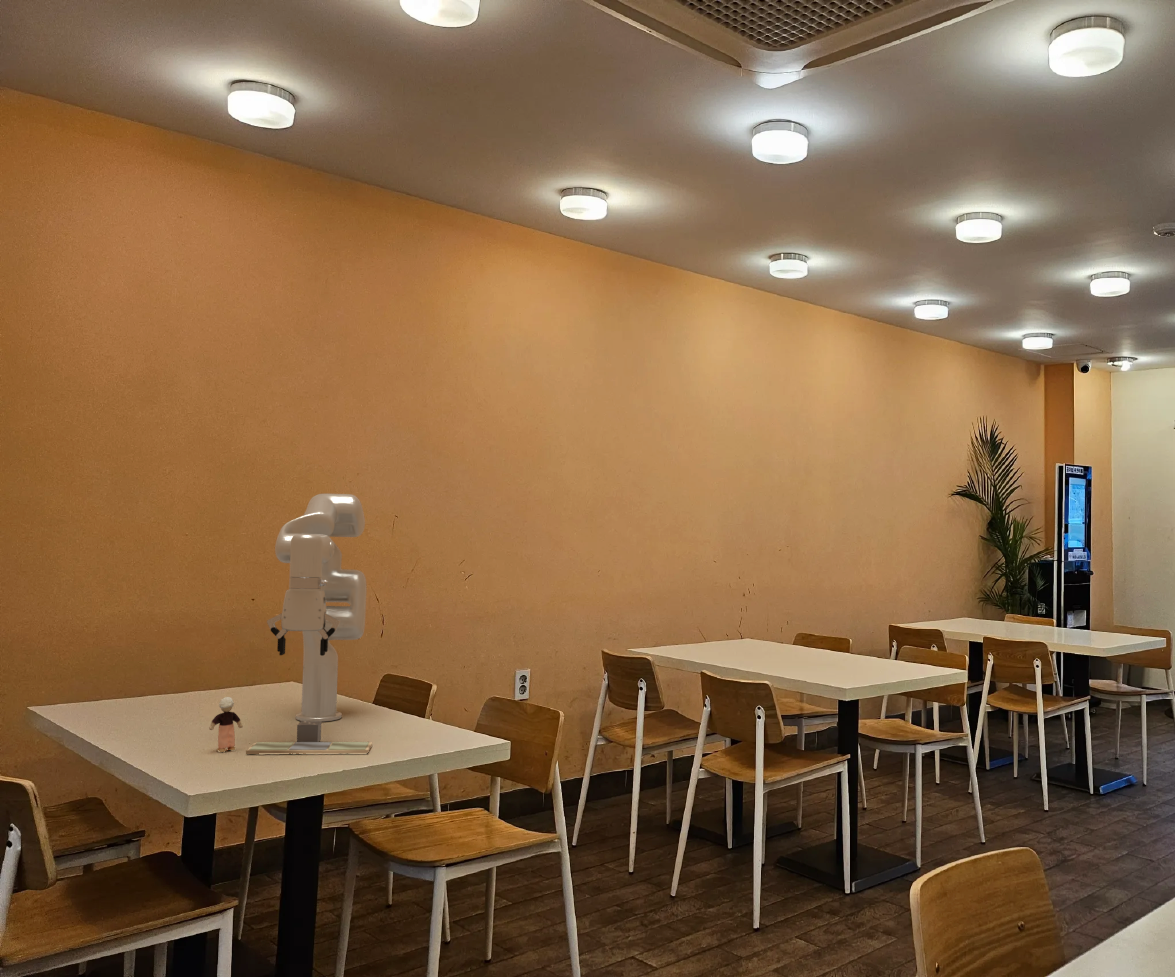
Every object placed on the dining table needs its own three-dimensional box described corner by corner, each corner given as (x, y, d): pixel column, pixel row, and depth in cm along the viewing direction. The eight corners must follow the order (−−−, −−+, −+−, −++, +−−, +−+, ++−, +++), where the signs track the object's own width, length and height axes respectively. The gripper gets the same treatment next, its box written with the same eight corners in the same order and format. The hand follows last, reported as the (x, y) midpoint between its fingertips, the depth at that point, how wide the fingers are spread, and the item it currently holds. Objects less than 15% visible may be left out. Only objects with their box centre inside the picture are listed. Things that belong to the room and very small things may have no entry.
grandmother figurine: (234, 747, 231) (236, 694, 232) (243, 749, 229) (245, 696, 230) (204, 752, 225) (207, 697, 226) (213, 754, 223) (215, 699, 224)
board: (254, 746, 232) (255, 741, 232) (372, 746, 235) (372, 741, 235) (245, 755, 223) (246, 749, 223) (367, 754, 226) (367, 749, 226)
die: (300, 741, 240) (301, 720, 241) (320, 741, 241) (321, 720, 241) (296, 745, 235) (297, 724, 236) (317, 745, 236) (318, 724, 236)
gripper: (343, 584, 239) (340, 653, 238) (272, 583, 237) (269, 653, 236) (338, 585, 232) (336, 656, 231) (265, 584, 230) (262, 656, 229)
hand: (302, 654), depth 233 cm, fingers open, 9 cm apart
